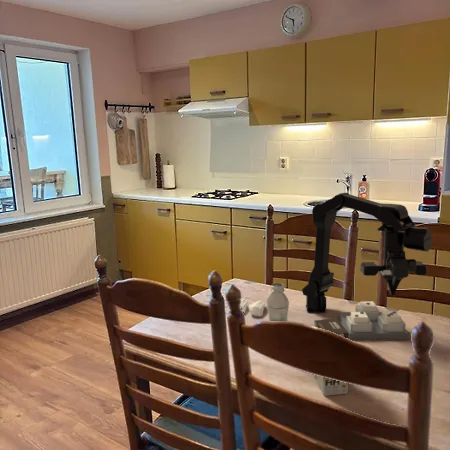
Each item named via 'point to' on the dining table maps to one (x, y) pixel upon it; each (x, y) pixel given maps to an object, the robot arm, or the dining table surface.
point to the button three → (391, 317)
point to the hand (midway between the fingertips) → (392, 294)
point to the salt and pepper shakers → (253, 307)
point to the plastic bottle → (277, 303)
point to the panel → (373, 327)
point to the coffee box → (328, 384)
